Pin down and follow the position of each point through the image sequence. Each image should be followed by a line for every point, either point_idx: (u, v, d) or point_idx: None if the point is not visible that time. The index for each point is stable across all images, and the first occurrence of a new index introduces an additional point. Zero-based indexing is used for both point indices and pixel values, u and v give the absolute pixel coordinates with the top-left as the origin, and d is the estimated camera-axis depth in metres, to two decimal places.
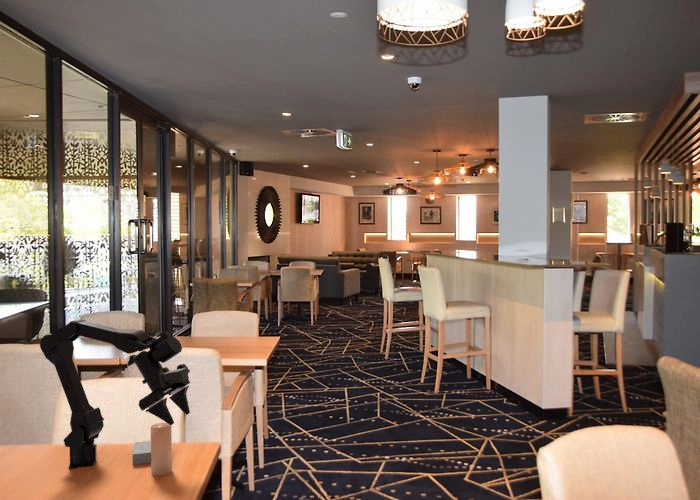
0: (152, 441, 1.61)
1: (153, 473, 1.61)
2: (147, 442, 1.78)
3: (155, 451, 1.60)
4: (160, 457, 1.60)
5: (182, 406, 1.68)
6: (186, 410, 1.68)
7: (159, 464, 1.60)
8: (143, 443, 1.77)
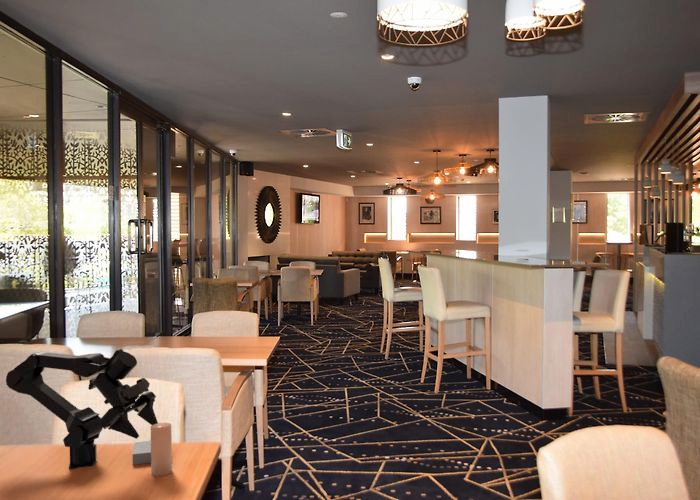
0: (152, 441, 1.61)
1: (153, 473, 1.61)
2: (147, 442, 1.78)
3: (155, 451, 1.60)
4: (160, 457, 1.60)
5: (150, 420, 1.69)
6: (154, 423, 1.68)
7: (159, 464, 1.60)
8: (143, 443, 1.77)
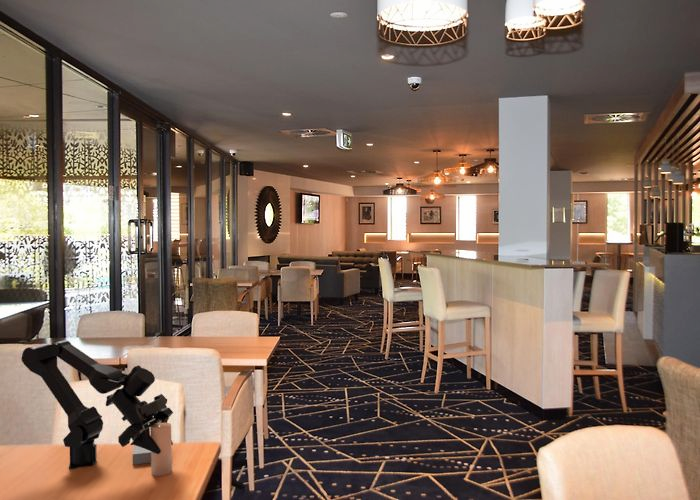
0: None
1: (153, 473, 1.61)
2: None
3: None
4: (160, 457, 1.60)
5: None
6: None
7: (159, 464, 1.60)
8: None
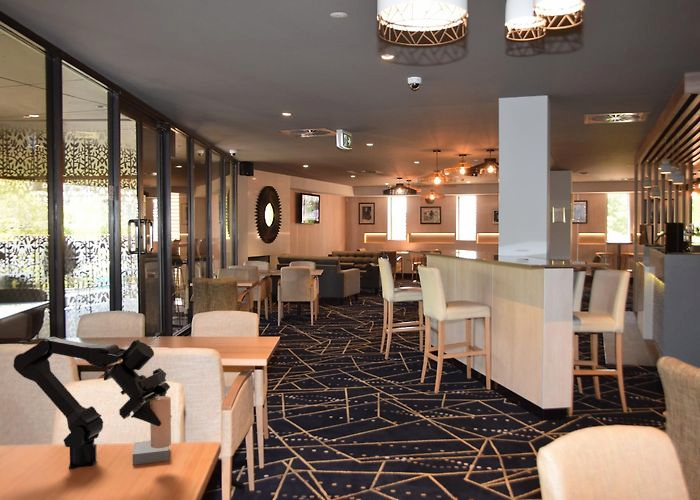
0: None
1: (153, 445, 1.63)
2: (147, 442, 1.78)
3: None
4: (160, 429, 1.62)
5: None
6: None
7: (159, 436, 1.62)
8: (143, 443, 1.77)
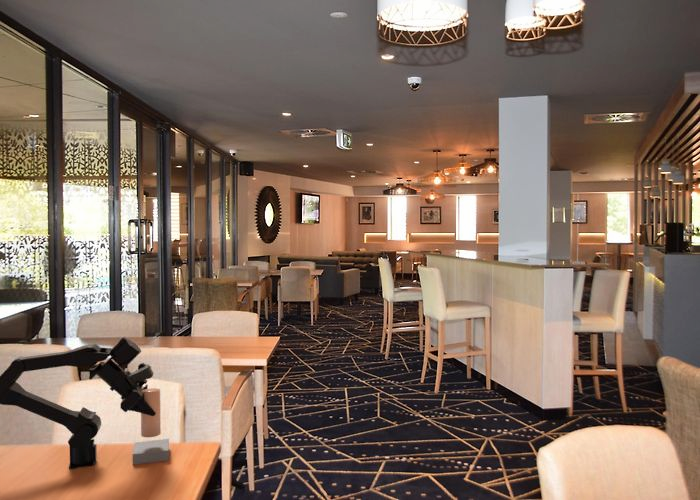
0: None
1: (147, 435, 1.72)
2: (147, 442, 1.78)
3: None
4: (154, 419, 1.72)
5: None
6: None
7: (153, 425, 1.72)
8: (143, 443, 1.77)
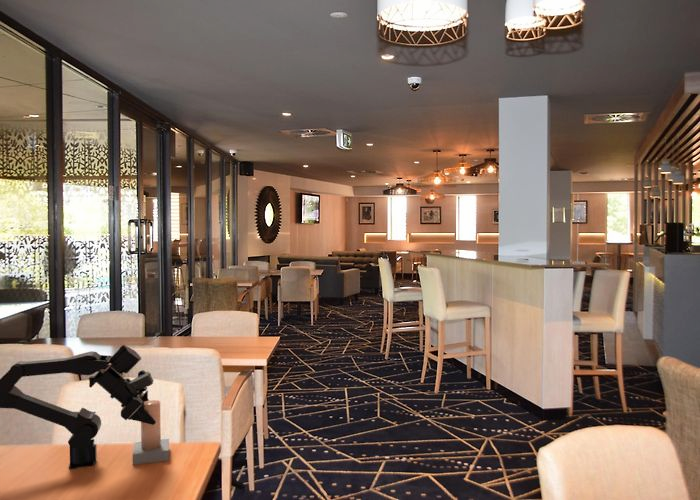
0: None
1: (147, 447, 1.72)
2: None
3: (149, 426, 1.72)
4: (154, 431, 1.72)
5: None
6: None
7: (153, 438, 1.72)
8: None
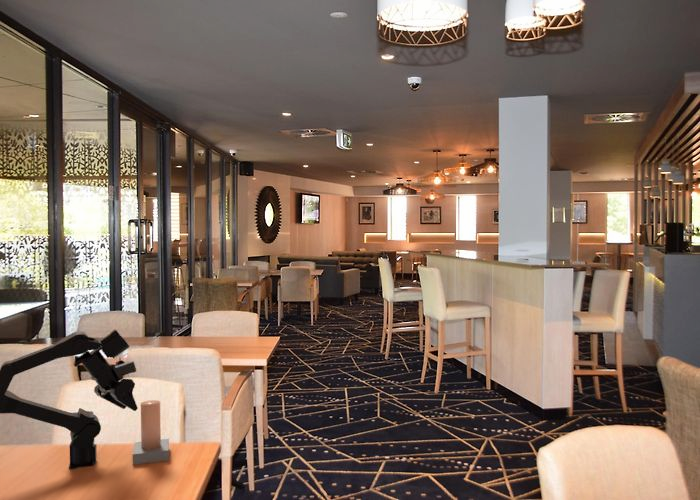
0: (146, 417, 1.72)
1: (147, 447, 1.72)
2: None
3: (149, 426, 1.72)
4: (154, 431, 1.72)
5: (118, 402, 1.78)
6: (123, 405, 1.79)
7: (153, 437, 1.72)
8: None
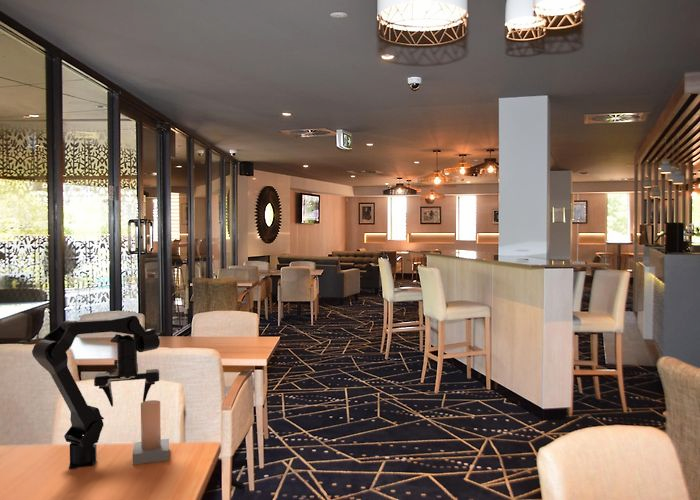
0: (146, 417, 1.72)
1: (147, 447, 1.72)
2: None
3: (149, 426, 1.72)
4: (154, 431, 1.72)
5: (112, 397, 1.81)
6: (112, 402, 1.81)
7: (153, 437, 1.72)
8: None
